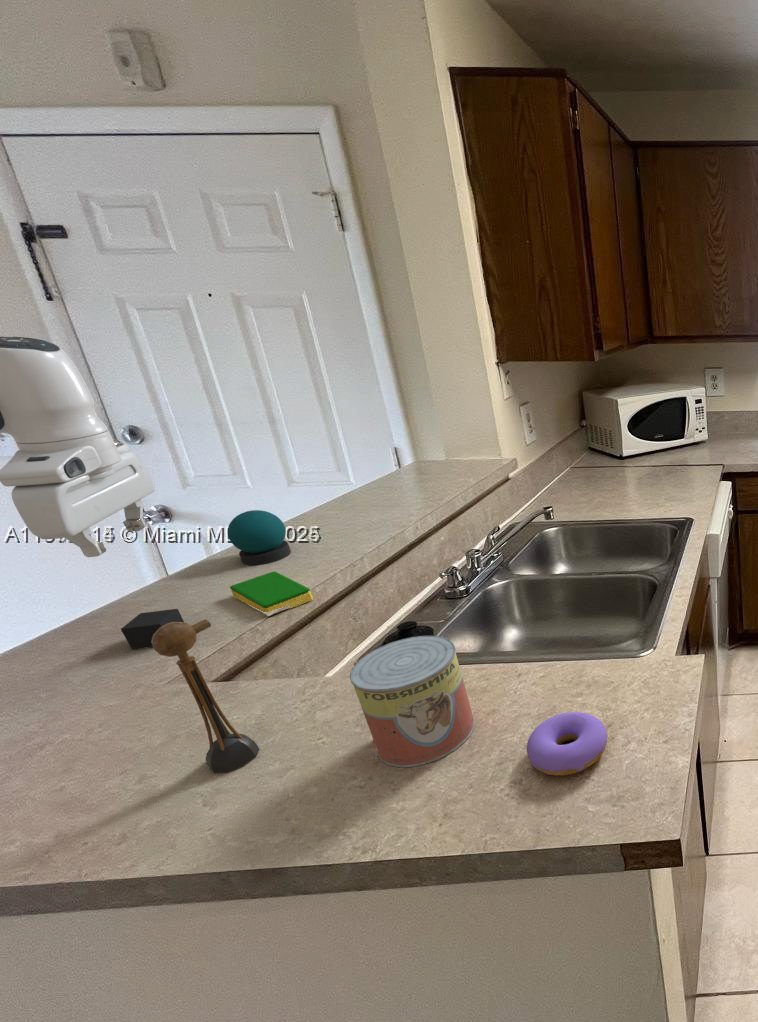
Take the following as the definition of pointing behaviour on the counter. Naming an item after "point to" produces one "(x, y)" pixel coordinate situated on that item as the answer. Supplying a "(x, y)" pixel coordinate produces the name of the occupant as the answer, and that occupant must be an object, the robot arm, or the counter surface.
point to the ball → (258, 537)
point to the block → (148, 627)
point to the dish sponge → (271, 592)
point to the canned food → (414, 700)
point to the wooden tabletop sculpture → (205, 698)
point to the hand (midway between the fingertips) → (118, 541)
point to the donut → (570, 756)
